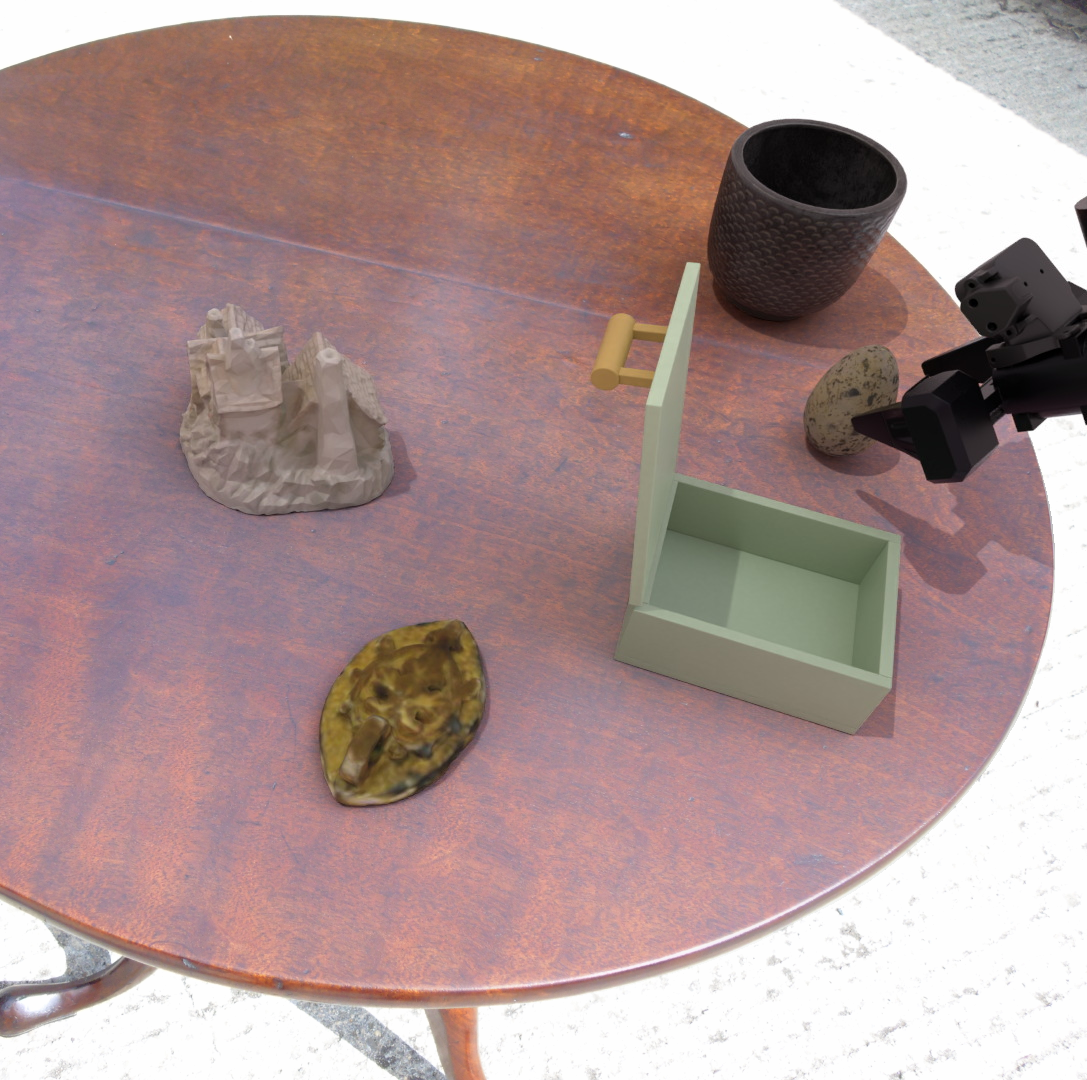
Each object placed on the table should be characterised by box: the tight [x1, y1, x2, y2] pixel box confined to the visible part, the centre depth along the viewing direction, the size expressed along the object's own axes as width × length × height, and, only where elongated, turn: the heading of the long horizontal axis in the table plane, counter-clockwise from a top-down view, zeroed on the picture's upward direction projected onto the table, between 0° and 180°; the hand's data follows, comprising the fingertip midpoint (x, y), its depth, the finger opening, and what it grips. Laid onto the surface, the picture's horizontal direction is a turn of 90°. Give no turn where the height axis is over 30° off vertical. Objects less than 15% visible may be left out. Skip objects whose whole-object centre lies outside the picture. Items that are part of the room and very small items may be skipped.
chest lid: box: [589, 261, 702, 606], centre depth 64 cm, size 16×13×4 cm
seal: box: [318, 618, 487, 807], centre depth 66 cm, size 9×5×15 cm
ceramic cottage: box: [178, 302, 395, 516], centre depth 77 cm, size 16×16×15 cm
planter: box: [706, 118, 908, 322], centre depth 91 cm, size 14×14×13 cm
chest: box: [613, 471, 902, 736], centre depth 71 cm, size 16×13×6 cm
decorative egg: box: [802, 344, 900, 458], centre depth 80 cm, size 6×6×10 cm
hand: (889, 395), depth 77 cm, fingers open, 9 cm apart
